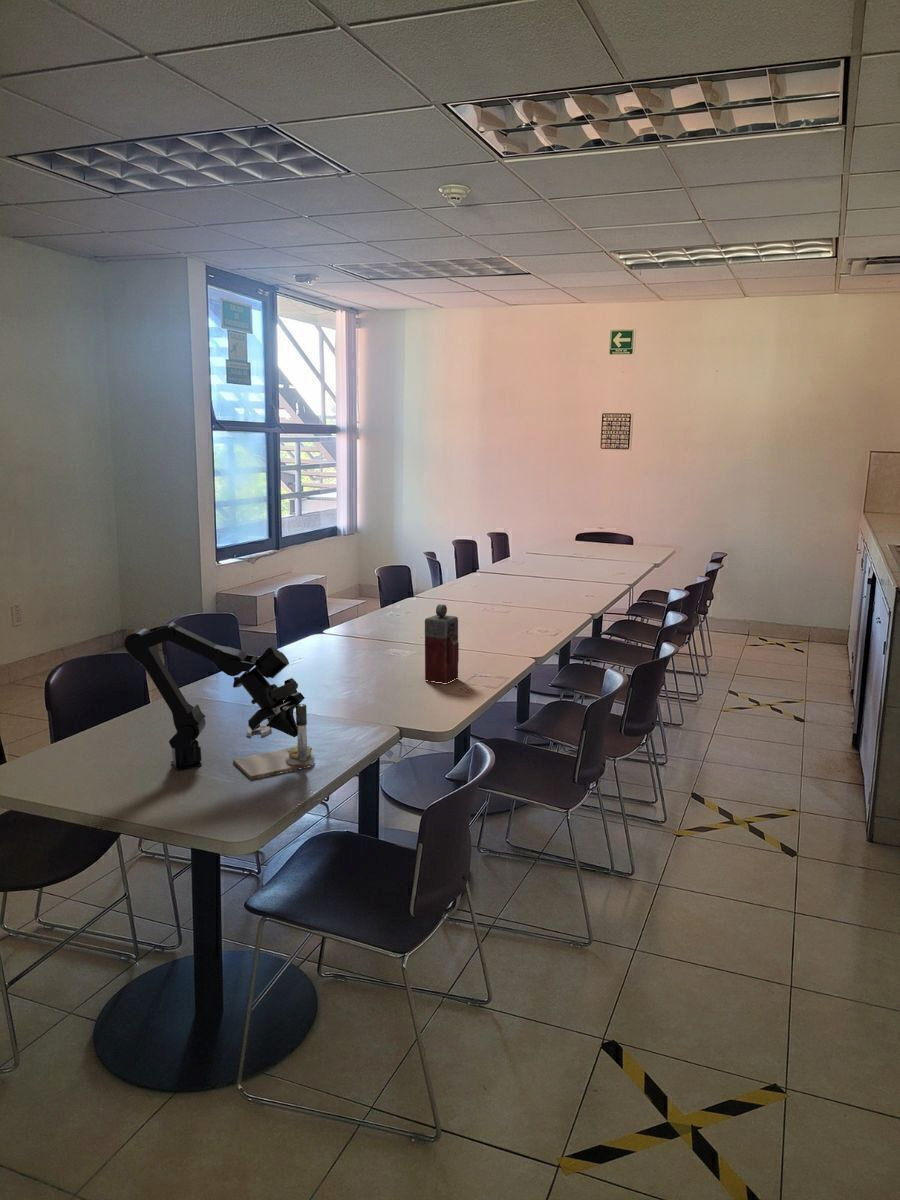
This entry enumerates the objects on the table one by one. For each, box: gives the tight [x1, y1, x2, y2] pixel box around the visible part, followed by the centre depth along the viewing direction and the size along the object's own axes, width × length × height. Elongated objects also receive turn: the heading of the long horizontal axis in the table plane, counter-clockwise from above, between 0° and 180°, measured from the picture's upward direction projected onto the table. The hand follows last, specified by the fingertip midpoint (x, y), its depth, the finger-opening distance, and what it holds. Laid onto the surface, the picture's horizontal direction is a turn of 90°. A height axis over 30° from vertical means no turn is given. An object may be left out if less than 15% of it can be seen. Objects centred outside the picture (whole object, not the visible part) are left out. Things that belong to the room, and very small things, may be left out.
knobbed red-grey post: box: [424, 603, 460, 683], centre depth 305 cm, size 9×11×28 cm
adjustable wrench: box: [246, 720, 273, 738], centre depth 260 cm, size 25×6×2 cm, turn 162°
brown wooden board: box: [232, 747, 316, 780], centre depth 228 cm, size 19×14×2 cm
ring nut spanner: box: [288, 703, 313, 761], centre depth 224 cm, size 10×6×16 cm, turn 17°
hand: (297, 735), depth 221 cm, fingers closed
